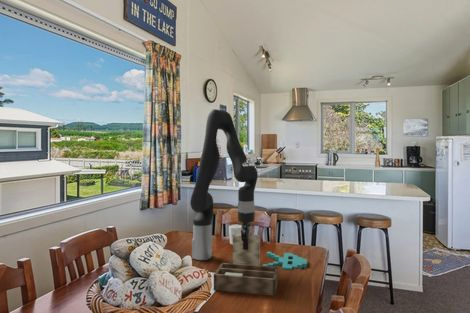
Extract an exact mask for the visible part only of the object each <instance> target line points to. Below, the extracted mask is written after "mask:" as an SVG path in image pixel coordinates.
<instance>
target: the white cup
mask: <svg viewBox="0 0 470 313" xmlns="http://www.w3.org/2000/svg"><path fill="white" fill-rule="evenodd" d="M241 226H242V224H230V225H229V226H228V236H229V244H230V245H232V246H233V234H241V230H242V229H241Z"/></svg>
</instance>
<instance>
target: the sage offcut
mask: <svg viewBox="0 0 470 313" xmlns="http://www.w3.org/2000/svg"><path fill="white" fill-rule="evenodd" d="M224 275H236V276H243V274H242V273H229V272H226V273H225V274H224Z"/></svg>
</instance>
